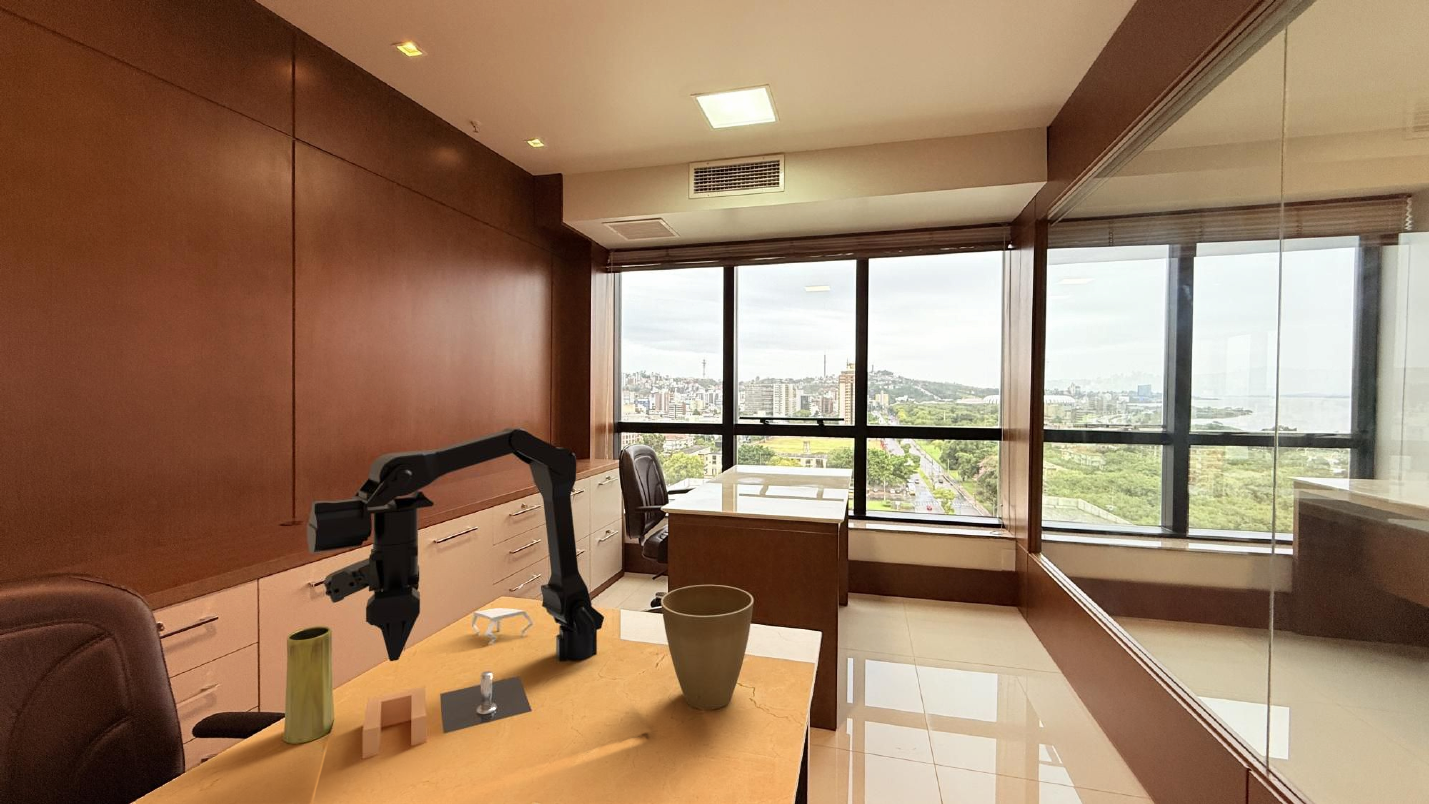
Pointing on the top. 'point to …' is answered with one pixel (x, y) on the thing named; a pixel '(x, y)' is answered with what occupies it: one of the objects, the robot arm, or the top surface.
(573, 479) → the robot arm
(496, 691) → the peg stand
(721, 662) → the plant pot
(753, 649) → the top surface
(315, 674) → the vase
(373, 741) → the c link
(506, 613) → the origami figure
